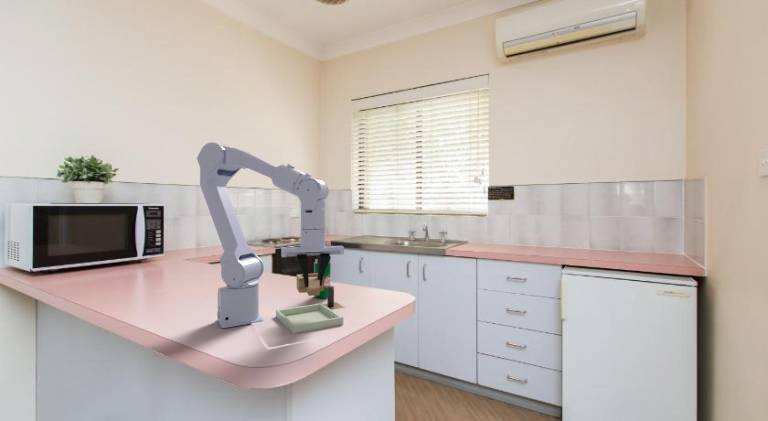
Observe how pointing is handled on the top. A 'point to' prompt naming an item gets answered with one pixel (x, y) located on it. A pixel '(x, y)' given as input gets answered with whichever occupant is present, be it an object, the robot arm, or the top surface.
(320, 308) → the tray
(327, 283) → the soda can
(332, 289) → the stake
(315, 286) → the tan frame with handle
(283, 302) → the top surface
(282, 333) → the top surface
